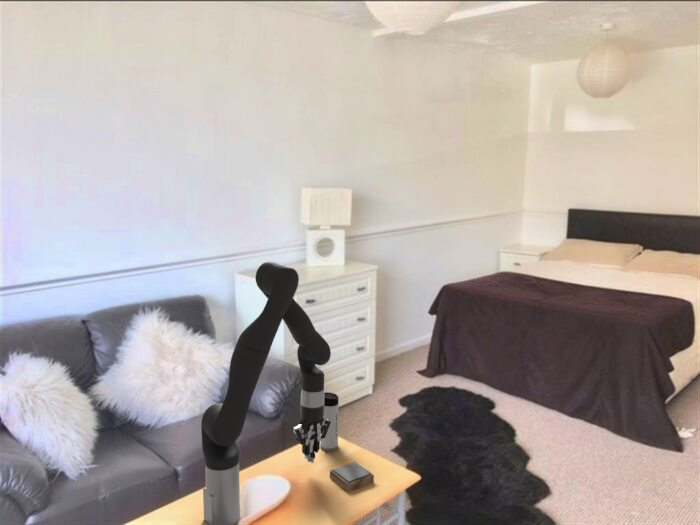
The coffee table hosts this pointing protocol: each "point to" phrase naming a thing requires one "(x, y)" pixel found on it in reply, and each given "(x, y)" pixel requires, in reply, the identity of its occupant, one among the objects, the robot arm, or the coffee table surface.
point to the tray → (351, 476)
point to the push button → (311, 447)
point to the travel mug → (331, 414)
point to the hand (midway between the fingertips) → (310, 452)
